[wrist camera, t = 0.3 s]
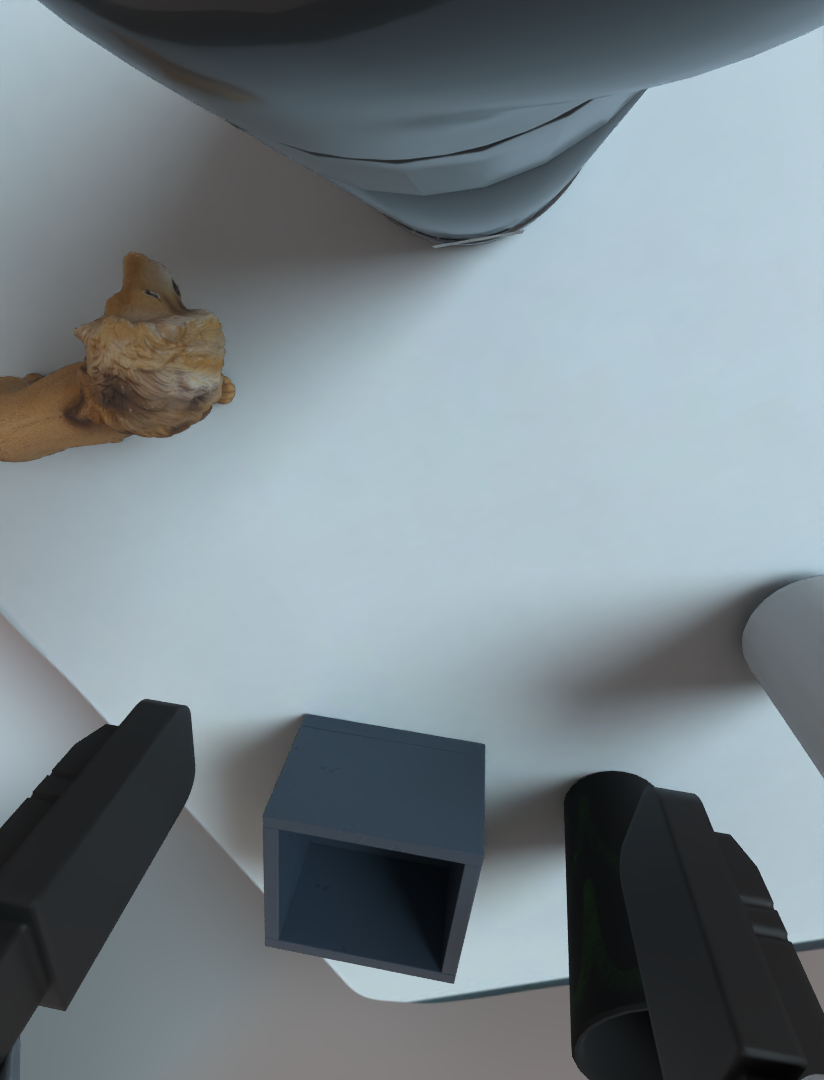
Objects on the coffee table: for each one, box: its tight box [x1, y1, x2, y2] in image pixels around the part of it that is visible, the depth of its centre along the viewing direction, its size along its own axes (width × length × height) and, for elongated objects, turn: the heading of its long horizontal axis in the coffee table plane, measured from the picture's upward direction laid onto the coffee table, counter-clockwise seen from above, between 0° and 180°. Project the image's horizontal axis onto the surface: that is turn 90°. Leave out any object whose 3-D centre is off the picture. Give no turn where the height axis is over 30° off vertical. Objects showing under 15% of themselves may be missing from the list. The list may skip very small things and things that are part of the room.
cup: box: [564, 771, 663, 1080], centre depth 28 cm, size 8×8×12 cm
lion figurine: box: [0, 252, 235, 462], centre depth 22 cm, size 15×5×9 cm, turn 115°
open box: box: [263, 714, 485, 984], centre depth 32 cm, size 11×11×7 cm
